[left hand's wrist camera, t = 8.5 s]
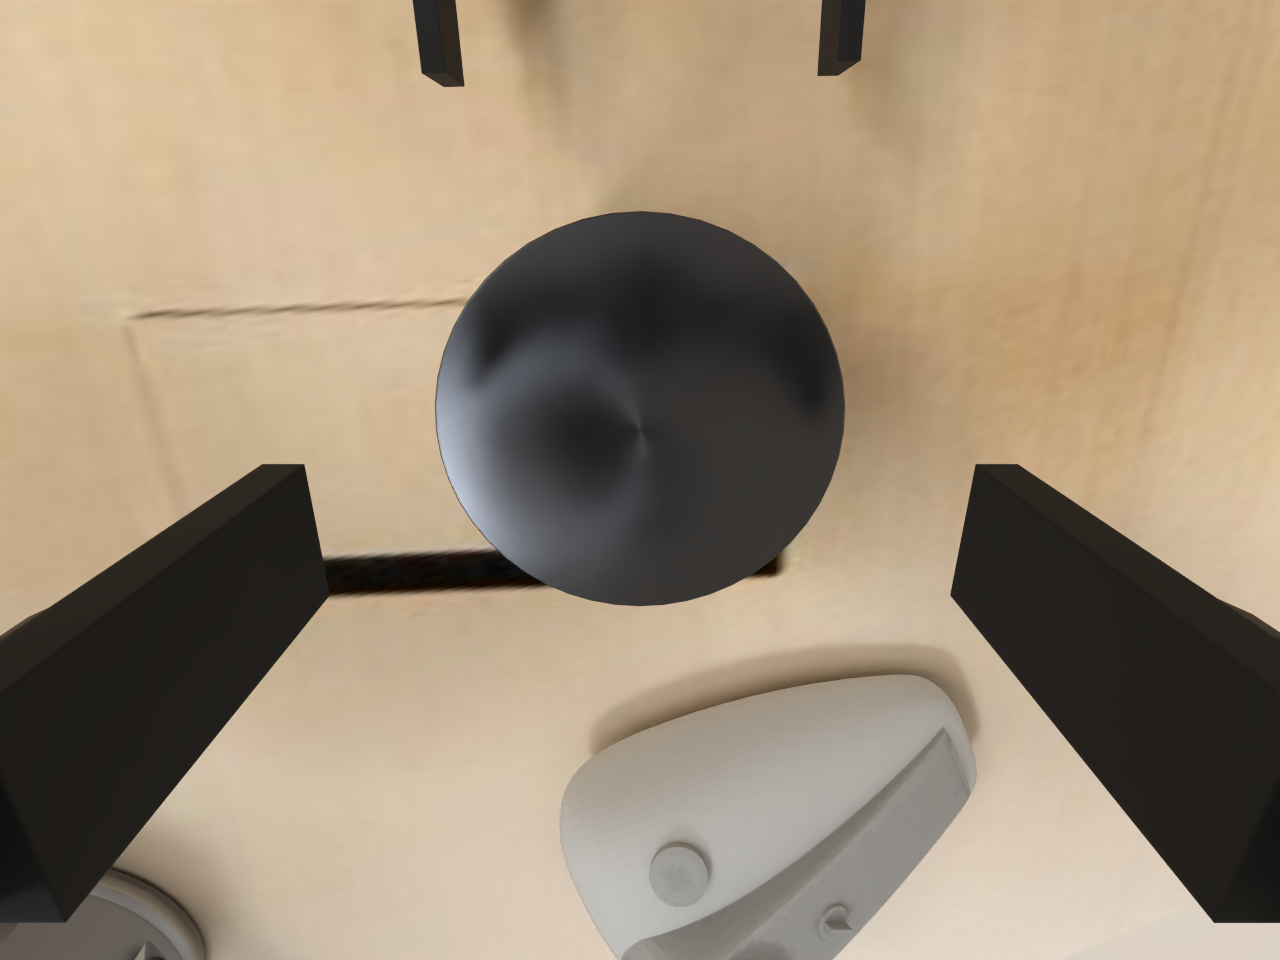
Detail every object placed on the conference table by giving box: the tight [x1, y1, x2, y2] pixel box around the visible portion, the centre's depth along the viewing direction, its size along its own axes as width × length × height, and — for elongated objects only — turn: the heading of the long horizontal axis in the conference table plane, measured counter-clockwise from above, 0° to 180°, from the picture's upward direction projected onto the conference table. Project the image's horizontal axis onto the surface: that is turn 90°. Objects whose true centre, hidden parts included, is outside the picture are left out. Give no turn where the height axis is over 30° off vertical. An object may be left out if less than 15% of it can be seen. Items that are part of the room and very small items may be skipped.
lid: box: [435, 211, 845, 606], centre depth 19 cm, size 11×11×2 cm
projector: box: [560, 674, 976, 960], centre depth 36 cm, size 22×23×15 cm
